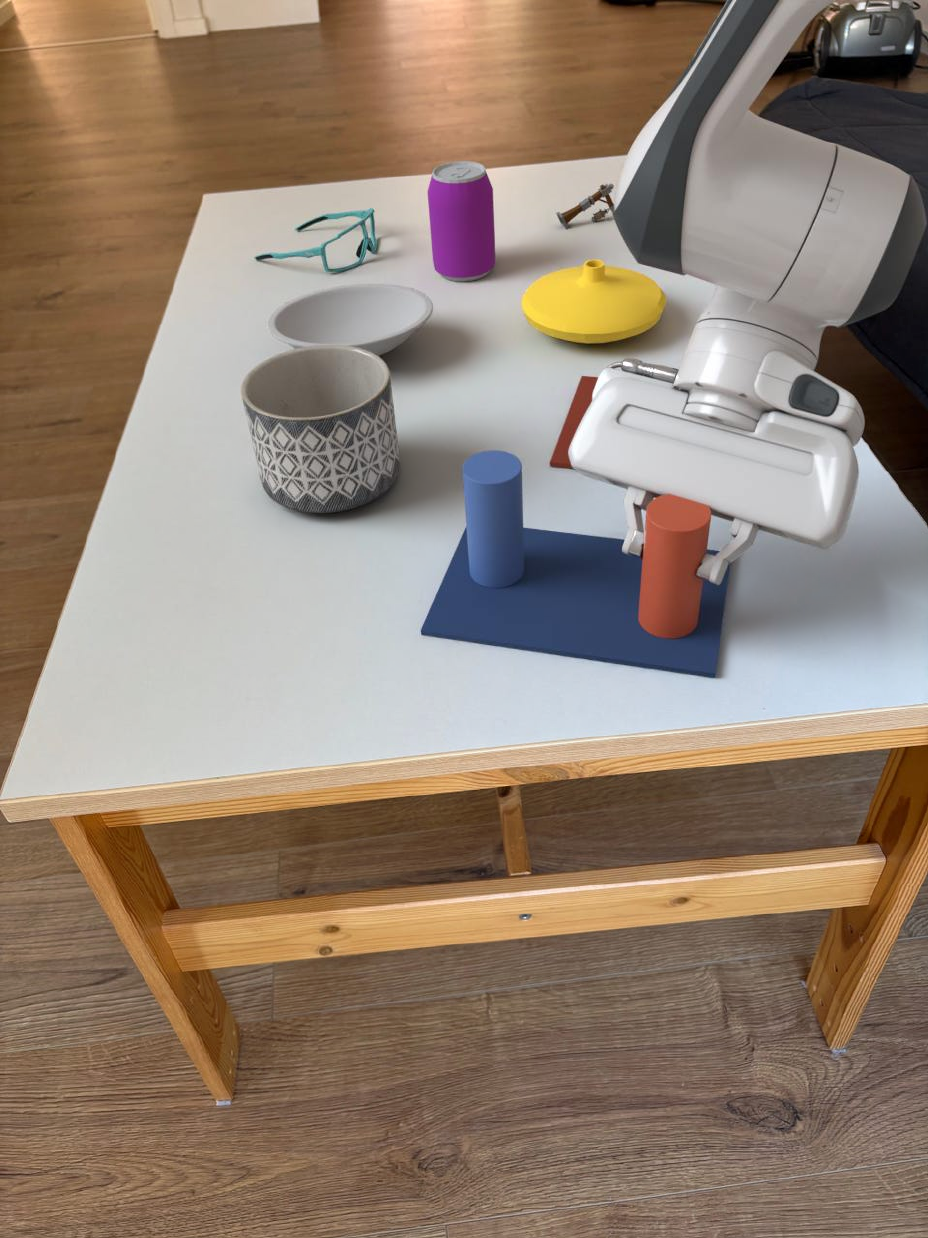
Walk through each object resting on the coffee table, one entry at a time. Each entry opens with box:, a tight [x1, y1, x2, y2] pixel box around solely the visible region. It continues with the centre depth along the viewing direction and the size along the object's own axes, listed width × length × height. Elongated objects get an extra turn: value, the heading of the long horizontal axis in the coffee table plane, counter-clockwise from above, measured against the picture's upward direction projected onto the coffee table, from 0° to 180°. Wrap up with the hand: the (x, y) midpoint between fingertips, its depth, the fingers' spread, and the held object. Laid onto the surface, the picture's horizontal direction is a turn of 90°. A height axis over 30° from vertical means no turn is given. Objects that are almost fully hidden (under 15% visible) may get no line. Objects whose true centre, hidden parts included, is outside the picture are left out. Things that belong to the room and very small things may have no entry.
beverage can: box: [427, 160, 496, 282], centre depth 122 cm, size 8×8×12 cm
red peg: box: [638, 494, 712, 639], centre depth 73 cm, size 4×4×10 cm
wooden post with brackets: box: [555, 183, 615, 230], centre depth 134 cm, size 2×8×4 cm, turn 106°
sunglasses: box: [253, 207, 378, 273], centre depth 132 cm, size 14×15×5 cm
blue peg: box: [462, 449, 524, 588], centre depth 79 cm, size 4×4×10 cm
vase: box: [520, 259, 667, 344], centre depth 111 cm, size 16×16×7 cm
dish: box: [266, 283, 434, 357], centre depth 110 cm, size 18×14×5 cm
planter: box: [240, 345, 401, 514], centre depth 90 cm, size 13×13×10 cm
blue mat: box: [420, 526, 731, 679], centre depth 80 cm, size 22×14×1 cm, turn 75°
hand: (670, 568), depth 73 cm, fingers closed on red peg, 4 cm apart
